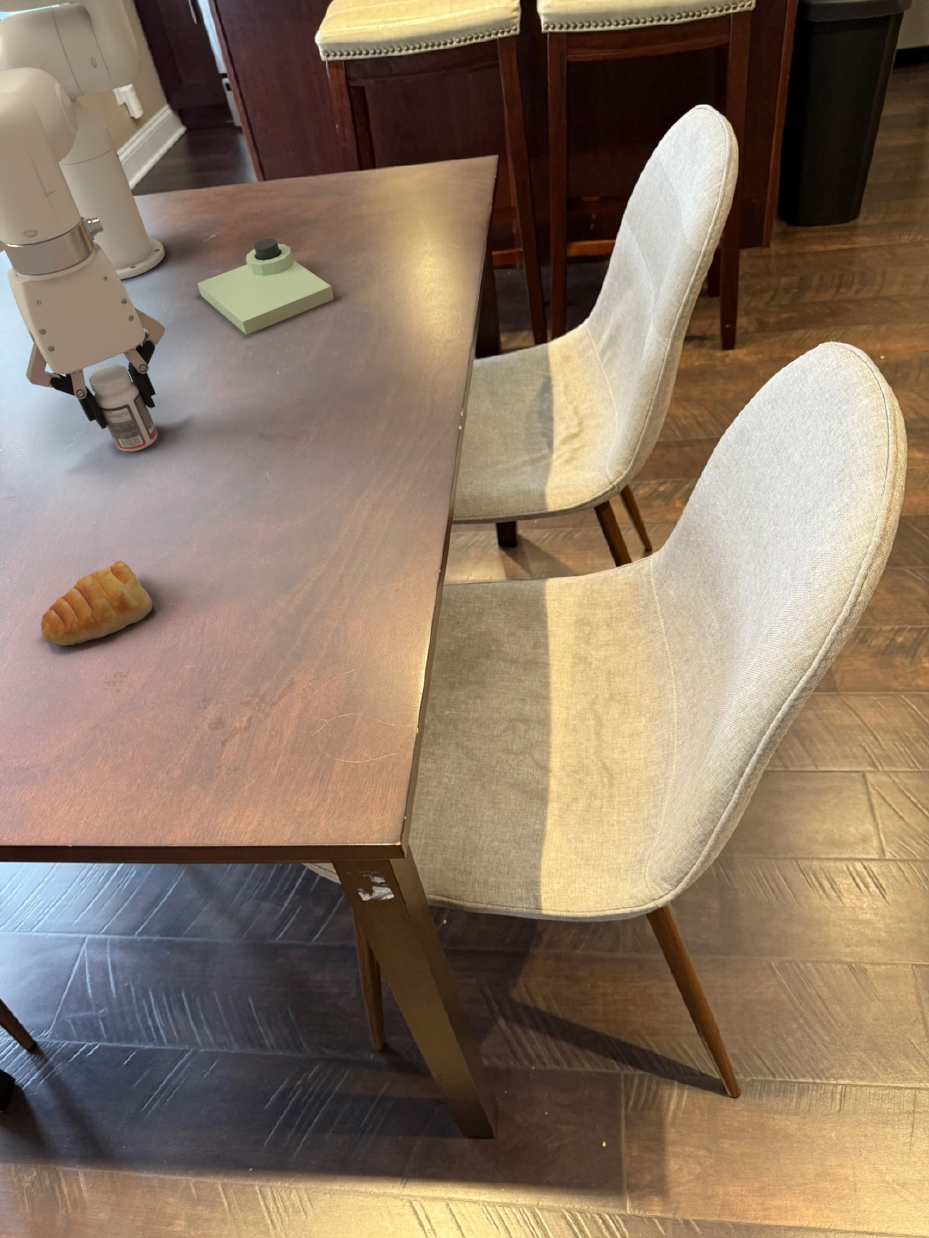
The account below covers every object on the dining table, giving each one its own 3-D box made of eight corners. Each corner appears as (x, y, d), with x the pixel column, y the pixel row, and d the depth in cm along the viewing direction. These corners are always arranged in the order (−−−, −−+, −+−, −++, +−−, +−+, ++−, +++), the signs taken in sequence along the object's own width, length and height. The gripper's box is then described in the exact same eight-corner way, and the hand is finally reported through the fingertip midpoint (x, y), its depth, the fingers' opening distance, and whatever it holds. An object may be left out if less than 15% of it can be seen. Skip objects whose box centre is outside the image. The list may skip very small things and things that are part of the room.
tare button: (253, 256, 119) (250, 244, 118) (274, 249, 120) (270, 236, 119) (263, 264, 117) (260, 251, 116) (284, 256, 119) (281, 243, 117)
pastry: (63, 666, 74) (42, 636, 71) (37, 625, 78) (16, 595, 75) (162, 610, 78) (146, 580, 75) (132, 573, 81) (116, 543, 79)
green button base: (201, 296, 120) (192, 271, 117) (284, 264, 124) (278, 240, 122) (246, 335, 111) (238, 310, 108) (334, 299, 115) (329, 274, 113)
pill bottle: (140, 423, 99) (111, 358, 93) (167, 434, 97) (139, 368, 91) (107, 445, 97) (75, 379, 91) (134, 457, 95) (103, 391, 88)
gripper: (122, 207, 86) (183, 370, 99) (-51, 266, 80) (39, 429, 94) (148, 229, 81) (209, 396, 95) (-33, 292, 76) (59, 460, 89)
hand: (124, 411), depth 94 cm, fingers closed on pill bottle, 4 cm apart
